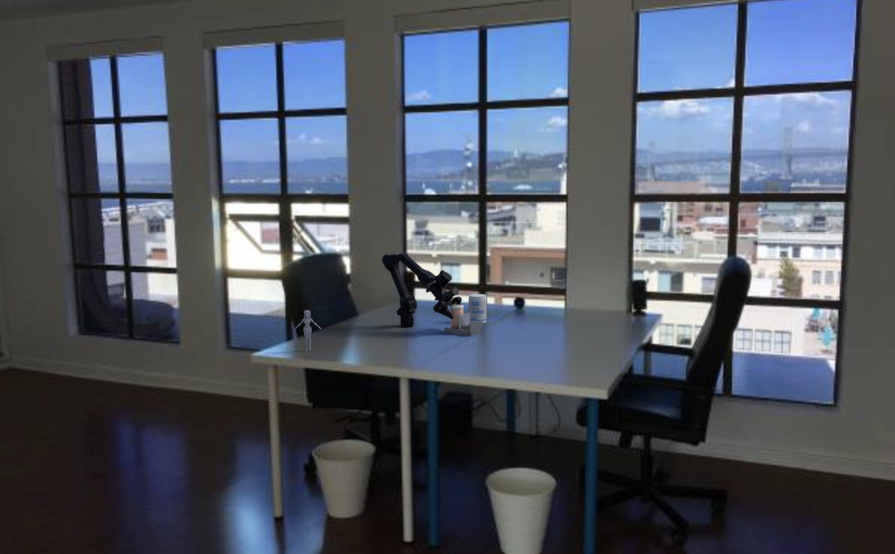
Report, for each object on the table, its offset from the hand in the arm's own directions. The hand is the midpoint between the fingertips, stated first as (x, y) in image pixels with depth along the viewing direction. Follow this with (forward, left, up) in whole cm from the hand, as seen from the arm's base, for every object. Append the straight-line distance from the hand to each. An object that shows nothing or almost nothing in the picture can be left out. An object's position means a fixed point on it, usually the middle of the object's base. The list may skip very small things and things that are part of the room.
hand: (458, 317), depth 348 cm
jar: (0, 0, -7) cm, 7 cm away
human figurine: (-73, -19, -8) cm, 76 cm away
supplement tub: (+15, +23, -8) cm, 29 cm away
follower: (+2, -2, -8) cm, 9 cm away
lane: (+2, -2, -8) cm, 9 cm away
